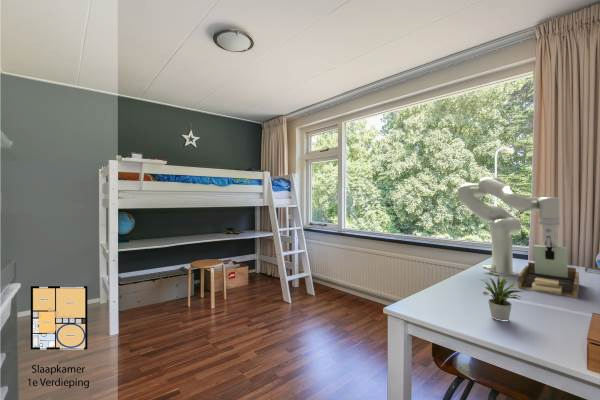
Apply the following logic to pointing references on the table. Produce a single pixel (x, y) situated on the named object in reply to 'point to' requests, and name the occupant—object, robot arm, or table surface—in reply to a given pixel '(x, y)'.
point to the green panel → (551, 261)
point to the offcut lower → (547, 289)
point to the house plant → (500, 299)
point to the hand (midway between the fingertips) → (550, 258)
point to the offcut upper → (547, 282)
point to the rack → (567, 283)
